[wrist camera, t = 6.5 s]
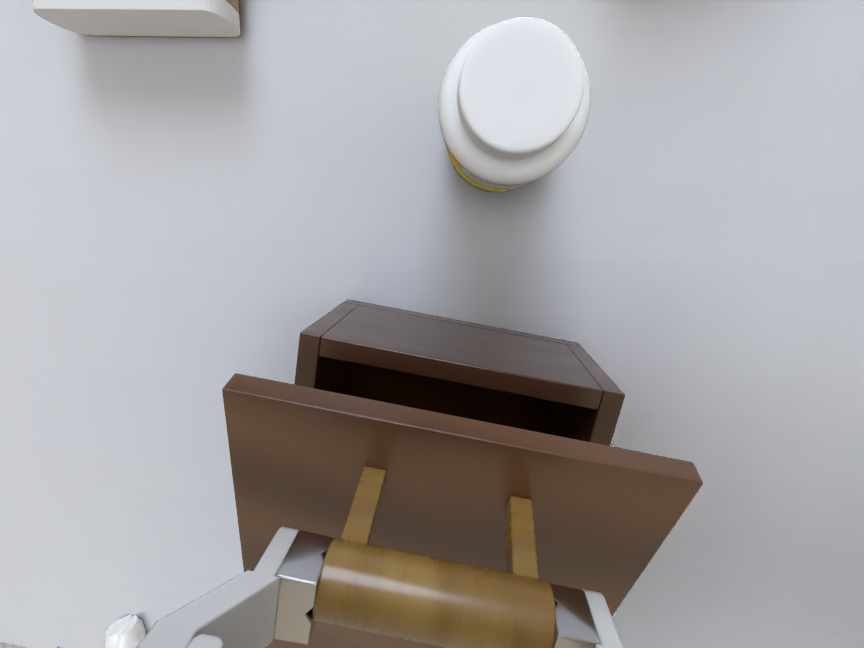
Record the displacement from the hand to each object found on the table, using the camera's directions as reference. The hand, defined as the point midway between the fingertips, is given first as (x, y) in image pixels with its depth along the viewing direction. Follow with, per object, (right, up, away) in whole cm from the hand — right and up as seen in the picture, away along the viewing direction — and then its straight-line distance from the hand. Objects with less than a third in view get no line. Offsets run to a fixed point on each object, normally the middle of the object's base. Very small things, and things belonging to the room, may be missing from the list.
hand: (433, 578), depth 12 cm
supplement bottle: (+4, +17, +12) cm, 21 cm away
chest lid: (-1, -4, +6) cm, 7 cm away
